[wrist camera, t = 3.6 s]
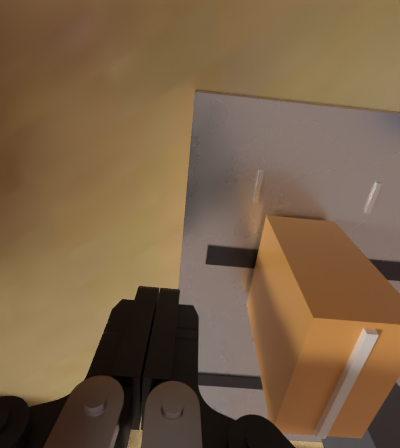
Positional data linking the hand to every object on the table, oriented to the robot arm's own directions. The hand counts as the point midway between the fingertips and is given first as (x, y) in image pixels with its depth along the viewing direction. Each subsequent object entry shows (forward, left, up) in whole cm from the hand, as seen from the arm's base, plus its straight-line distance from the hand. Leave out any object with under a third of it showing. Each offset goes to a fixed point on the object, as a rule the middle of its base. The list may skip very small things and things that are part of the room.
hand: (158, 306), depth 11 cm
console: (+4, +9, -6) cm, 11 cm away
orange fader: (0, +6, -3) cm, 6 cm away
